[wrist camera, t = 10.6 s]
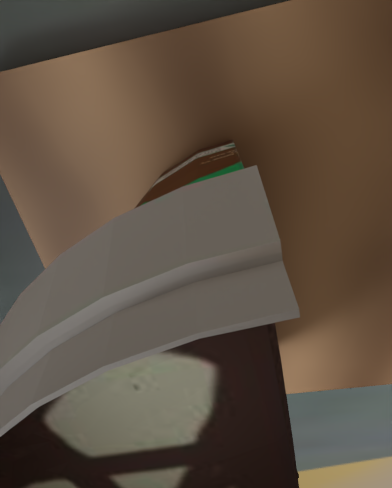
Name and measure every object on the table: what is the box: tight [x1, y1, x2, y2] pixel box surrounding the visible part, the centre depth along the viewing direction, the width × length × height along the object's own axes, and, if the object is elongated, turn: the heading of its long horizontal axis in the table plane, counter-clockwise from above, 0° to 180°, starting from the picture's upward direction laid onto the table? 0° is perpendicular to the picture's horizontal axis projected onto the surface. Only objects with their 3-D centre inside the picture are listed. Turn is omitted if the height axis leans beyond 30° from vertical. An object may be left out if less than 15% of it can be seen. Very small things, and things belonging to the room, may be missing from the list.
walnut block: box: [0, 0, 392, 394], centre depth 15 cm, size 14×16×2 cm
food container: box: [0, 140, 300, 488], centre depth 10 cm, size 12×6×10 cm, turn 12°
